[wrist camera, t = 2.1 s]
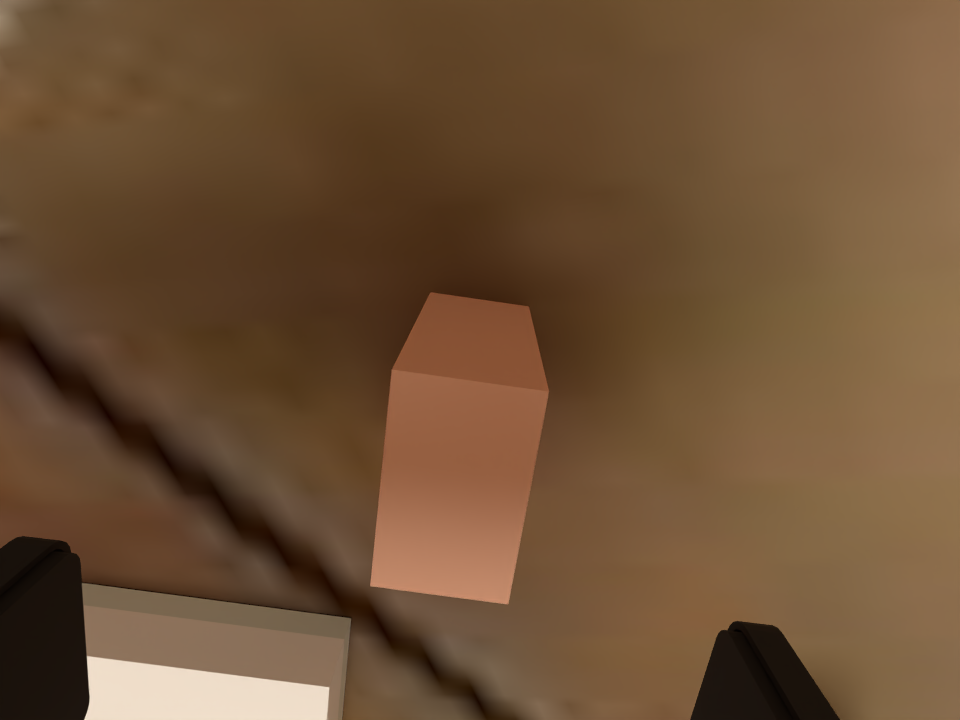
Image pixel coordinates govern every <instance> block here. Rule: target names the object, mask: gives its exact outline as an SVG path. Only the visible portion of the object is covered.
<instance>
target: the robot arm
mask: <svg viewBox="0 0 960 720" xmlns="http://www.w3.org/2000/svg"><path fill="white" fill-rule="evenodd" d="M89 700H90V695H89V681H88V666H87V651H86V637H85V622H84V607H83V593H82V578H81V563H80V558H79V557H78V555H77V554H74V553H71V550H70V546H69V545H68V544H67V543H66V542H64V541H59V540H50V539H42V538H34V537H25V536H22V537H17V538H15V539H13V540H12V541H10V542H9V543H7V544H6V545H5V546H3V547H2V548H1V549H0V720H84V719H85V716H86V714H87V711H88V707H89ZM690 720H840V719H839V718H838V716H837V715H836V713H835V712H834V710H833V709H832V707H831V706H830V704H829V703H828V701H827V700H826V698H825V697H824V695H823V694H822V692H821V691H820V689H819V688H818V686H817V685H816V683H815V682H814V680H813V679H812V677H811V676H810V674H809V673H808V671H807V670H806V668H805V667H804V665H803V664H802V662H801V661H800V659H799V658H798V656H797V655H796V653H795V652H794V650H793V649H792V647H791V646H790V644H789V643H788V641H787V640H786V638H785V637H784V635H783V634H782V632H781V631H780V630H779V629H778V628H777V627H775V626H773V625H765V624H757V623H748V622H740V621H736V622H733V623H732V624H731V625H730V626H729V628H728V630H721V631H720V632H719V633H718V636H717V638H716V641H715V644H714V647H713V650H712V653H711V657H710V660H709V663H708V666H707V669H706V672H705V675H704V678H703V682H702V685H701V688H700V691H699V694H698V697H697V700H696V704H695V707H694V710H693V713H692V716H691V719H690Z"/></svg>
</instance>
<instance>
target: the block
mask: <svg viewBox="0 0 960 720" xmlns="http://www.w3.org/2000/svg"><path fill="white" fill-rule="evenodd" d="M548 395H549V389H548V385H547V381H546V376H545V372H544V368H543V364H542V360H541V355H540V351H539V347H538V343H537V339H536V334H535V330H534V326H533V322H532V318H531V313H530V309H529V306H523V305H516V304H509V303H502V302H495V301H488V300H481V299H474V298H467V297H460V296H453V295H446V294H439V293H432V292H430V294H429V296H428V298H427V300H426V302H425V304H424V306H423V308H422V310H421V312H420V314H419V316H418V318H417V320H416V322H415V324H414V326H413V328H412V330H411V332H410V334H409V336H408V338H407V340H406V342H405V344H404V346H403V348H402V350H401V352H400V354H399V356H398V358H397V360H396V362H395V364H394V366H393V368H392V373H391V383H390V393H389V403H388V413H387V423H386V433H385V443H384V453H383V463H382V474H381V484H380V494H379V504H378V514H377V524H376V534H375V544H374V554H373V564H372V574H371V584H370V586H374V587H381V588H389V589H396V590H404V591H411V592H419V593H426V594H434V595H441V596H449V597H456V598H464V599H472V600H479V601H487V602H494V603H502V604H508V602H509V597H510V592H511V587H512V581H513V576H514V571H515V566H516V561H517V556H518V550H519V545H520V540H521V535H522V530H523V524H524V519H525V514H526V509H527V504H528V499H529V493H530V488H531V483H532V478H533V473H534V467H535V462H536V457H537V452H538V447H539V442H540V436H541V431H542V426H543V421H544V416H545V410H546V405H547V400H548Z"/></svg>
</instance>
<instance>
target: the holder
mask: <svg viewBox="0 0 960 720" xmlns="http://www.w3.org/2000/svg"><path fill="white" fill-rule="evenodd" d="M82 593H83V607H84V622H85V637H86V651H87V666H88V681H89V695H90V700H89V707H88V711H87V714H86V716H85V719H84V720H342V716H343V705H344V694H345V682H346V671H347V660H348V648H349V637H350V626H351V618H345V617H337V616H330V615H322V614H315V613H307V612H299V611H292V610H284V609H277V608H269V607H261V606H254V605H246V604H239V603H231V602H223V601H216V600H208V599H201V598H193V597H185V596H178V595H170V594H162V593H155V592H147V591H140V590H132V589H124V588H117V587H109V586H102V585H94V584H86V583H82Z"/></svg>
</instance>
